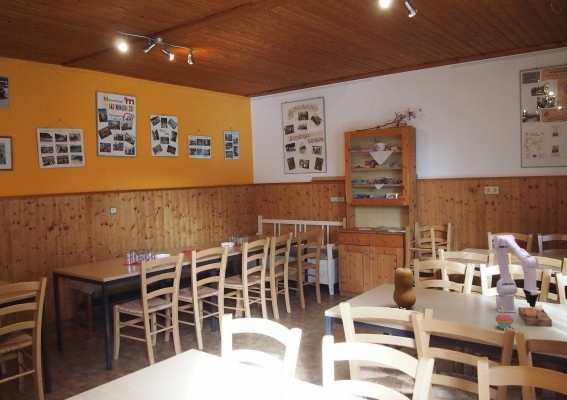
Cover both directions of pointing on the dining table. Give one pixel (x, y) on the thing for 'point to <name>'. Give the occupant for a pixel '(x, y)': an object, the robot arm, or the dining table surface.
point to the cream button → (538, 307)
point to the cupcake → (504, 320)
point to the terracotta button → (530, 312)
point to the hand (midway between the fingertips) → (530, 304)
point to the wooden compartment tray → (540, 319)
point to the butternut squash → (404, 288)
